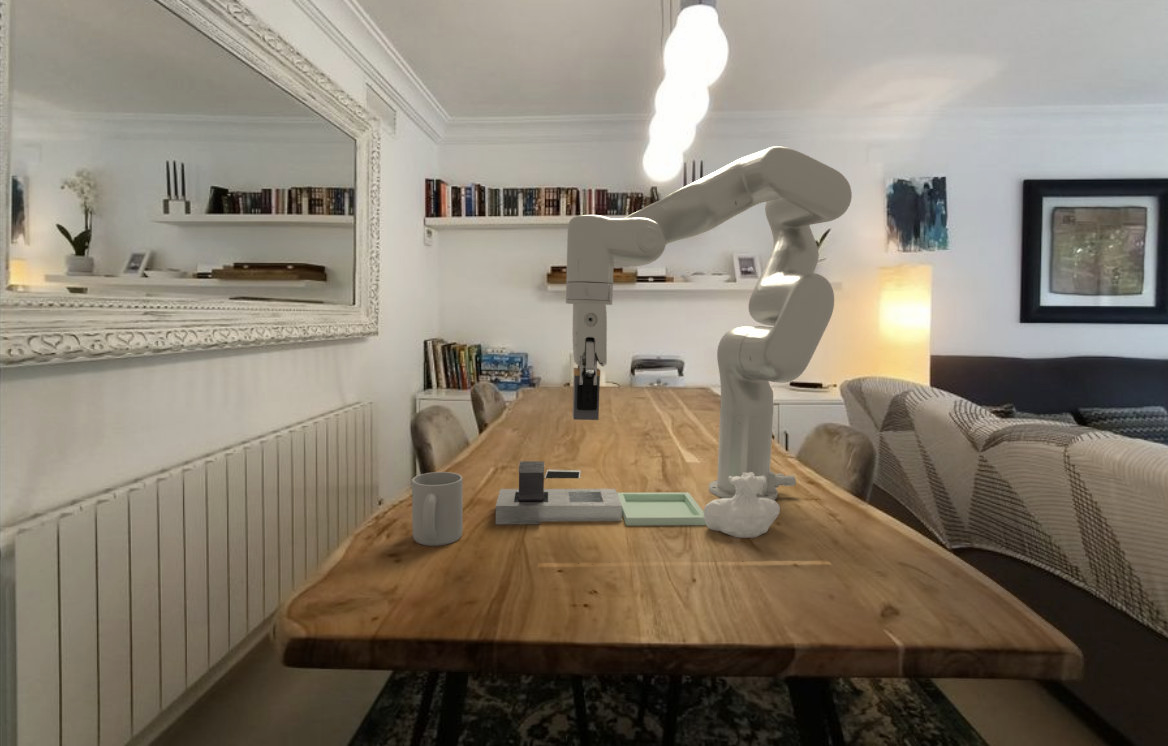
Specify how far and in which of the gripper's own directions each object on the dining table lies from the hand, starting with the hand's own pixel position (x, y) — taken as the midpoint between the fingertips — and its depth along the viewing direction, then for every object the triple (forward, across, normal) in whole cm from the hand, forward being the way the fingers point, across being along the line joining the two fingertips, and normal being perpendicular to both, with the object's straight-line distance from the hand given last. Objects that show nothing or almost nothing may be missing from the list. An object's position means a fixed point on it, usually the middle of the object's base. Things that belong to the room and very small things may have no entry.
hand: (585, 406), depth 97 cm
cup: (+19, -11, +22) cm, 31 cm away
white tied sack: (+18, -10, -24) cm, 32 cm away
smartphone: (+19, +19, +3) cm, 27 cm away
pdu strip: (+18, 0, +4) cm, 19 cm away
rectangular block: (+2, 0, 0) cm, 2 cm away
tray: (+18, 0, -13) cm, 22 cm away
